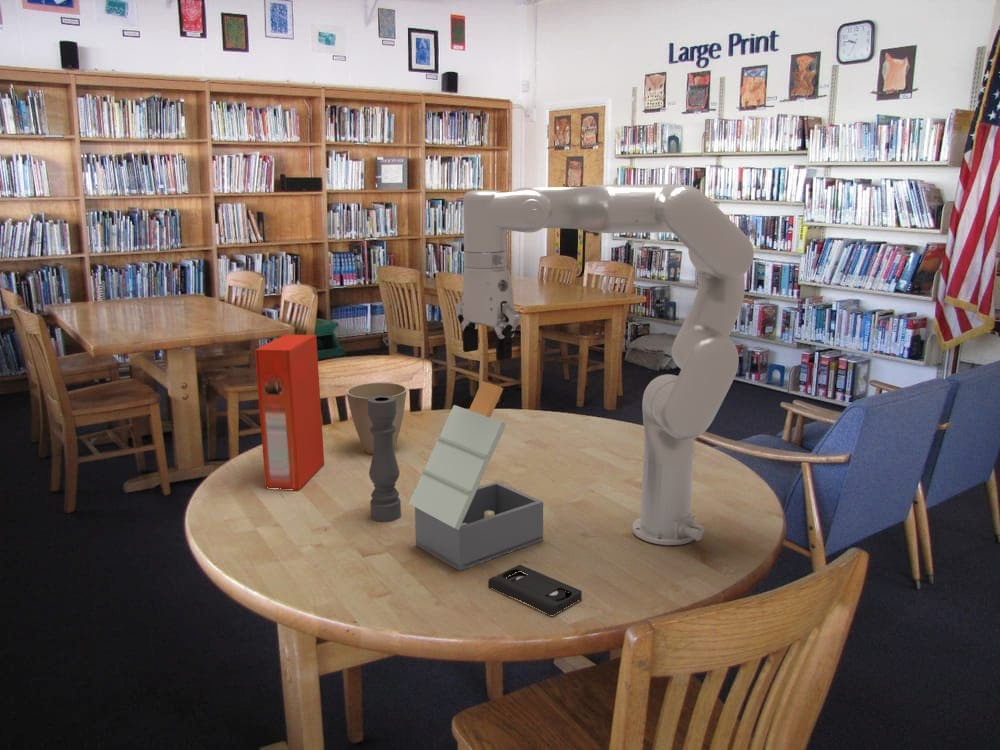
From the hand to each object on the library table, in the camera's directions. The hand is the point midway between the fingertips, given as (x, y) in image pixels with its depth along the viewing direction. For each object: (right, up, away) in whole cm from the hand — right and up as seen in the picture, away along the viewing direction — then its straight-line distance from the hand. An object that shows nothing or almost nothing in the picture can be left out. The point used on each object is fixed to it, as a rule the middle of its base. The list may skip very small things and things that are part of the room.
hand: (487, 355), depth 155 cm
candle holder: (-21, -33, +20) cm, 44 cm away
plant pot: (-29, -23, +61) cm, 71 cm away
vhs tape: (+8, -41, -11) cm, 44 cm away
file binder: (-45, -28, +43) cm, 68 cm away
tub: (-2, -36, +8) cm, 37 cm away
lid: (-4, -18, +1) cm, 18 cm away
